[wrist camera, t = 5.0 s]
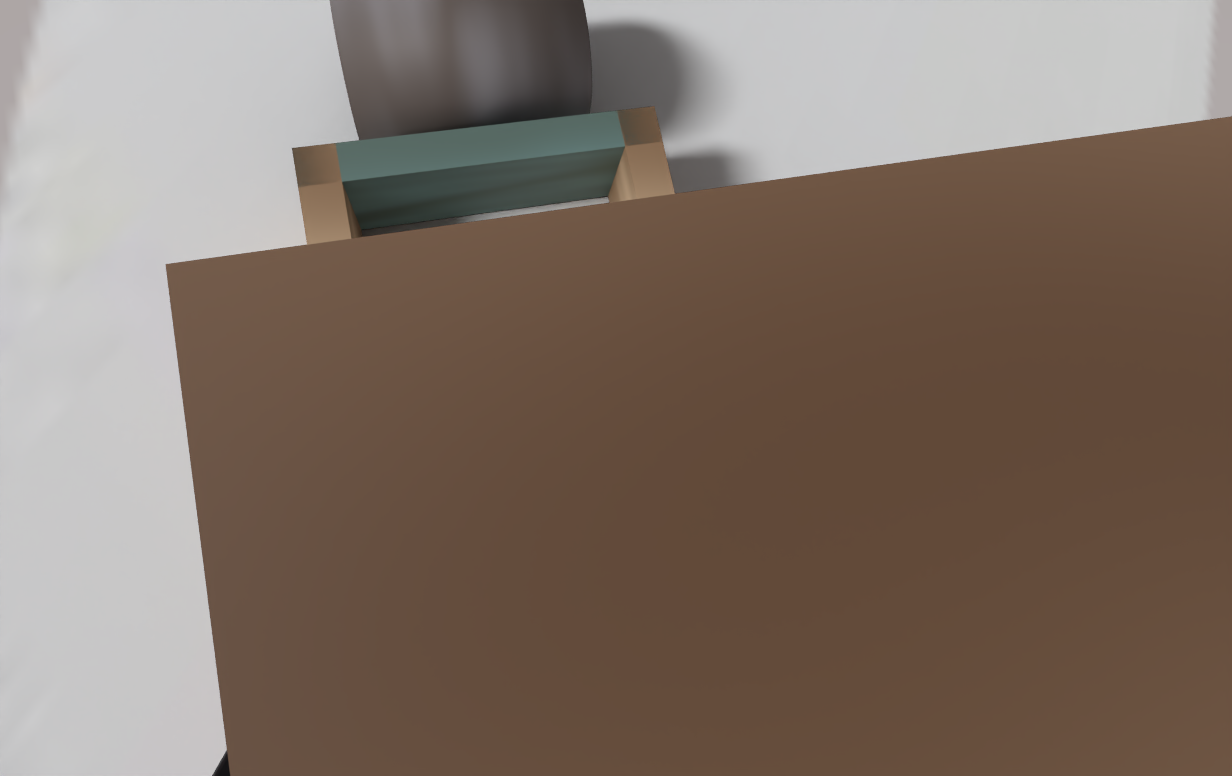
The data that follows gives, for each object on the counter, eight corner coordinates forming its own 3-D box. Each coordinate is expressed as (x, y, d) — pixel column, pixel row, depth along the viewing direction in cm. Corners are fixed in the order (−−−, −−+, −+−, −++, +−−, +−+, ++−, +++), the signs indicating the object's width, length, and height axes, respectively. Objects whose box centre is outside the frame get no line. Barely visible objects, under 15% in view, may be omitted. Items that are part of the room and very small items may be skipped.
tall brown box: (755, 711, 14) (1864, 1394, 3) (479, 786, 13) (418, 2284, 2) (693, 441, 15) (1354, 99, 4) (429, 494, 14) (164, 264, 3)
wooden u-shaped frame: (761, 717, 21) (823, 756, 17) (416, 812, 19) (398, 879, 16) (602, 23, 24) (624, -76, 20) (293, 52, 23) (254, -50, 19)
